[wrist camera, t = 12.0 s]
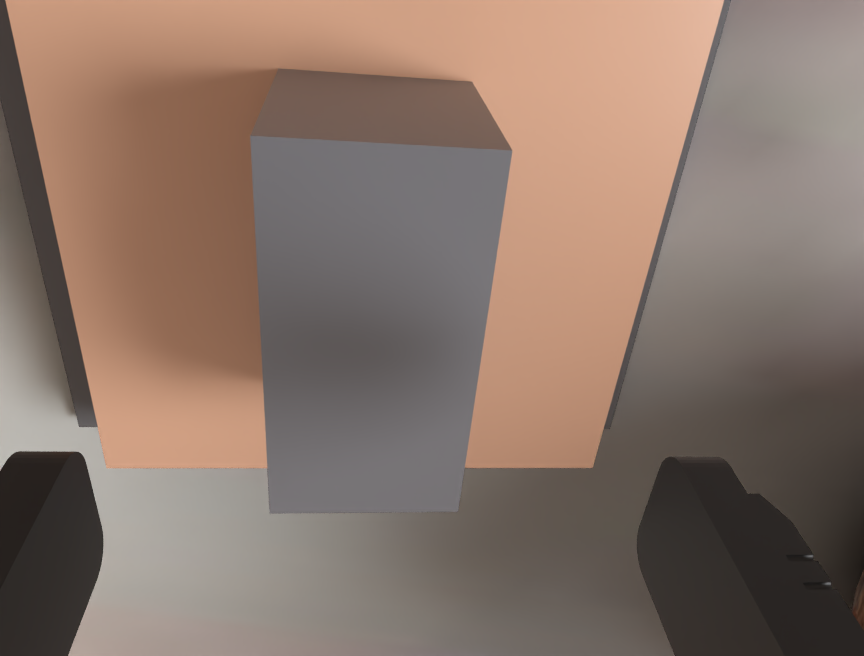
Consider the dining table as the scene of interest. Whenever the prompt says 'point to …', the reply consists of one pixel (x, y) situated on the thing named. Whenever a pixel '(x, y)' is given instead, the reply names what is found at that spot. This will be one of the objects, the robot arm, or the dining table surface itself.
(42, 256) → the mat
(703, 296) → the dining table surface
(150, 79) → the lid
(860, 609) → the jug
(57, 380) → the dining table surface
